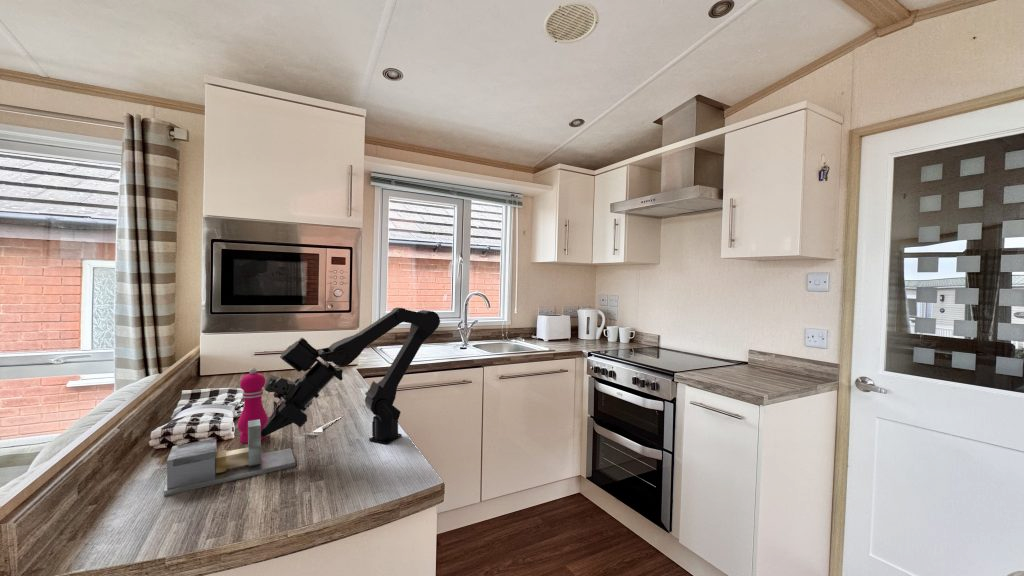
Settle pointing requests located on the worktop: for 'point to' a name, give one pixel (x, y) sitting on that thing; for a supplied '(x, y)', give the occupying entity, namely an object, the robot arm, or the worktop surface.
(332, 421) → the fork
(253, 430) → the shaft
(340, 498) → the worktop surface
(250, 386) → the pepper mill
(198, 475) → the grey long blocky piece
